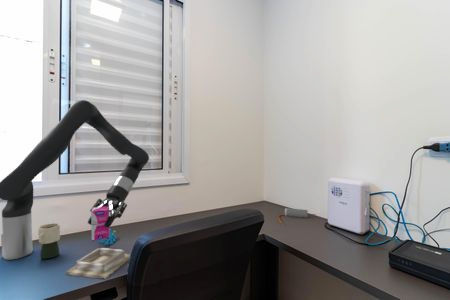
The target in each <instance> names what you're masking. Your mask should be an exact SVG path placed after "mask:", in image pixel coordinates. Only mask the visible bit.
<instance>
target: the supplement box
mask: <svg viewBox="0 0 450 300" xmlns="http://www.w3.org/2000/svg"><path fill="white" fill-rule="evenodd" d="M91 209H92V208H91ZM90 215H91V216H90V217H91V242H97V241H98V242H99V241H100V240H106V239H109V234H110V232H111V231H109V228H110V227H109V228H107V227H105V226H104V224H105V222H106V221H107V219H108V217H109V216H110V212H109V207H107V206H105V207H95V208H93V209H92V211H90Z"/></svg>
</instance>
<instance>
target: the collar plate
mask: <svg viewBox="0 0 450 300" xmlns="http://www.w3.org/2000/svg"><path fill="white" fill-rule="evenodd" d="M130 254H131V253H126V252H125V250H124V249H120V248H119V249H118V248H107V247H100V248H96V249H95V250H93V251H91V252H89V253H88V254H86V255H84V256H83V257H81V258H79V259H78V260H76V261H75V265H74V266H72V267H71V268H69V269H67V270H66V272H65V275H70V276H76V277H86V278H92V279H93V278H95V279H101V278H104V280H106V279H108V278H109V277H110V276H111V275H112V274H114V273H115V272H116V271H117V270H118V269H120V268H121V267H122V266H123V265H125V263H127V262H128V261H129V260H130V259H129V257H130ZM120 266H121V267H120ZM115 270H116V271H115ZM114 271H115V272H114ZM110 274H111V275H110ZM109 275H110V276H109Z"/></svg>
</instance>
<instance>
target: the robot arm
mask: <svg viewBox="0 0 450 300" xmlns="http://www.w3.org/2000/svg"><path fill="white" fill-rule="evenodd" d="M84 124H87V125H89V126H90V127H92V128H93V129H95V130H96V131H97V132H98V133H99V134H100V135H101V136H102V137H103V138H104V140H106V142H107V143H108V144H109V145H111V147H112V148H113V149H115V150H116V152H118V153H119V154H120V155H122V156H126V155H127V156H128V157H130V159H129V161H128V163H127V164H126V166H125V167H124V169H123V170H122V171H121V173H120V174H119V176H118V177H117V178H116V179H115V180H114V182H113V184H112V185H111V186H110V188H109V190H108V191H107V192H106V198H105V199H103V200H102V199H101V198H98V199H97V200H96V202H95V203H94V205H93V206H92V207H91V208H90V210H89V212H91V211H92V209H93V208H95V207H105V206H107V207H109V217H108V219H107V221H106V222H105V224H104V226H105V227H107V228H110V227H111V226H112V224H113V222H114V221H115V220H117V219H120V218H122V216H123V215H124V212H125V211H126V208H127V206H128V204H127V203H126V202H125V201H126V199H127V197H128V196H129V194H130V192H131V191H132V189H133V186H134V185H135V182H136V181H137V180H138V177H139V176H140V173H141V171H142V170H143V169H144V167H145V166H146V165H147V163H148V162H149V159H150V155H149V154H148V153H147V151H146V150H144V149H143V148H142V147H140V146H138V145H136V144H134V143H133V142H131V141H130V140H129V139H128V138H127V137H126V136H125V135H123V133H122V132H120V131H119V130H118V129H116V128H115V127H114V125H112V124H111V123H110V122H109V121H108V120H107V119H106V118H105V117H104V116H103V114H102V113H101V112H100V110H99V109H98V108H97V106H96V105H94V104H93V103H92V102H90V101H88V100H85V99H80V100H77V101H75V102H74V103H72V105H70V107H69V109H68V110H67V111H66V113H65V114H64V115H63V117H62V118H61V119H60V121H58V123H57V124H55V126H54V127H52V129H51V130H50V131H49V132H48V133H47V134H46V135H45V136H44V137H43V138H42V139H41V140H40V141H39V142H38V143H37V144H36V145H35V147H34V148H33V149H32V150H31V151H30V152H29V154H27V156H26V157H25V158H24V159H23V160H22V162H20V164H19V165H18V166H17V167H16V168H14V170H12V171H11V172H10V173H9V174H8V175H7V176H5V177H4V178H3V179H2V180H1V181H0V200H2V201H7V202H6V204H5V206H4V207H3V209H2V210H1V221H2V222H1V224H2V227H1V228H2V229H1V230H2V234H0V240H1V241H0V242H1V257H2V258H3V260H7V261H8V260H16V259H20V258H24V257H26V256H28V255H30V254H32V253H33V227H32V226H33V222H32V208H33V205H34V184H33V180H34V179H35V178H36V177H37V176H38V175H39V174H40V173H42V172H43V171H45V169H47V168H49V167H50V166H52V165H53V164H54V163H55V162H56V161H58V160H59V158H60V157H61V156H62V155H63V153H64V152H65V151H66V150H67V149H68V147H69V145H70V143H71V141H72V139H73V136H74V135H75V133H76V132H77V131H78V130H79V128H81V127H82V126H83V125H84ZM87 224H88V225H91V216H90V217H89V218H88V221H87Z"/></svg>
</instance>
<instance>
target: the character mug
mask: <svg viewBox="0 0 450 300" xmlns="http://www.w3.org/2000/svg"><path fill="white" fill-rule="evenodd" d="M60 226H61V225H60V223H58V222H51V223H46V224H43V225H40V226H38V232H37V233H38V242H39V244H42V245H41V250H40V259H50V258H55V257H57V256H58V255H60V248H59V247H60V246H59V244H58V243H59V242H58V241H59V240H60V239H61V229H60V228H61V227H60Z"/></svg>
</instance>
